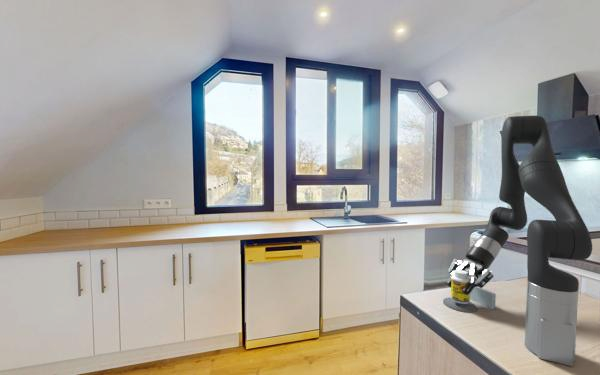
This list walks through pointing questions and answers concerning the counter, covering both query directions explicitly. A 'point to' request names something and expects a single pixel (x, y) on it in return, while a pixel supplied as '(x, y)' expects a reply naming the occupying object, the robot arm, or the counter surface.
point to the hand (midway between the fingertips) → (456, 289)
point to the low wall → (483, 297)
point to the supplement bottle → (459, 286)
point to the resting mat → (460, 305)
